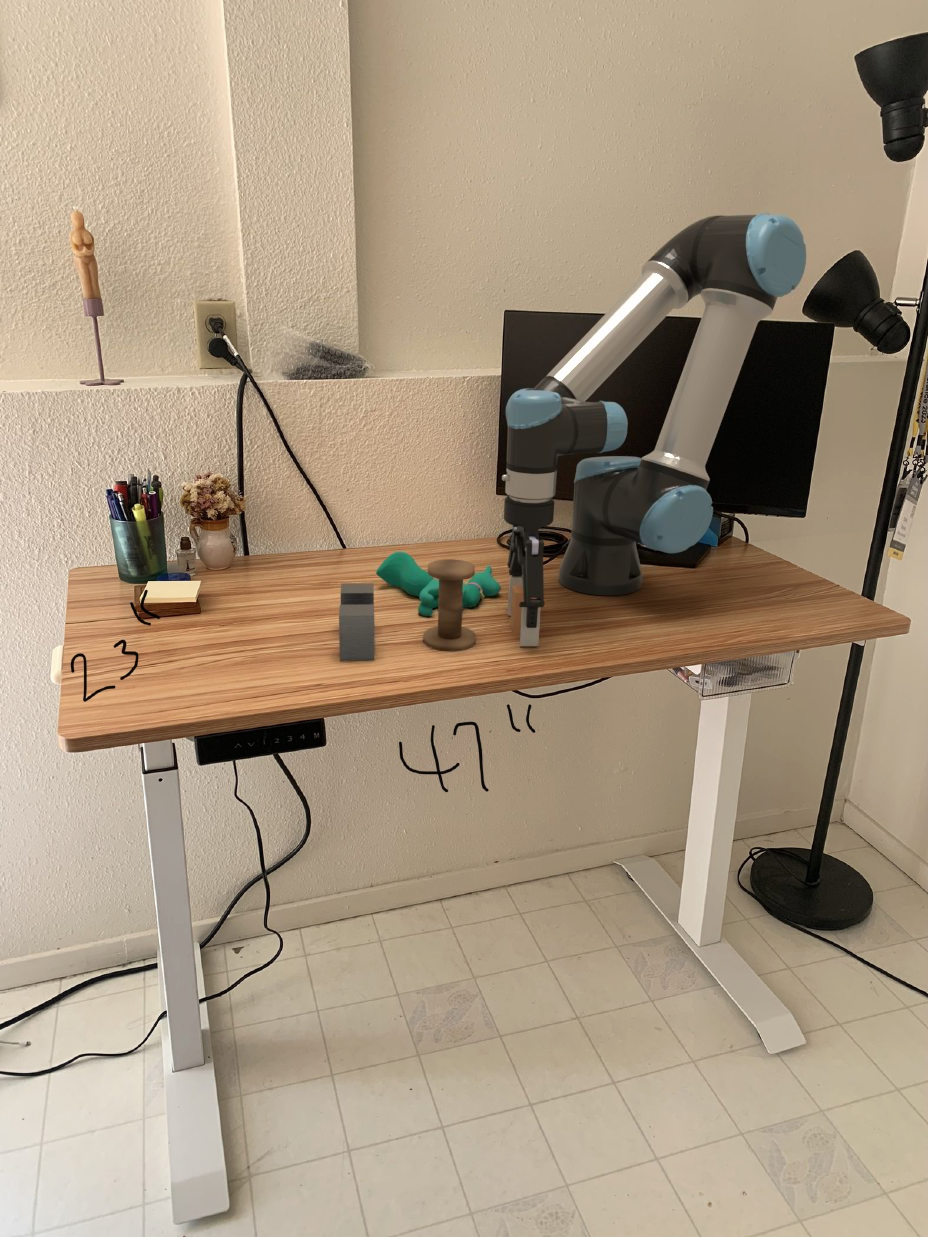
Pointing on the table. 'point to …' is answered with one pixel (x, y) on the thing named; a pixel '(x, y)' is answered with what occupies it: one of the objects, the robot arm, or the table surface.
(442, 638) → the bobbin
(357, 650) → the metal block
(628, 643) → the table surface
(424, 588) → the toy
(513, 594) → the orange brown block
